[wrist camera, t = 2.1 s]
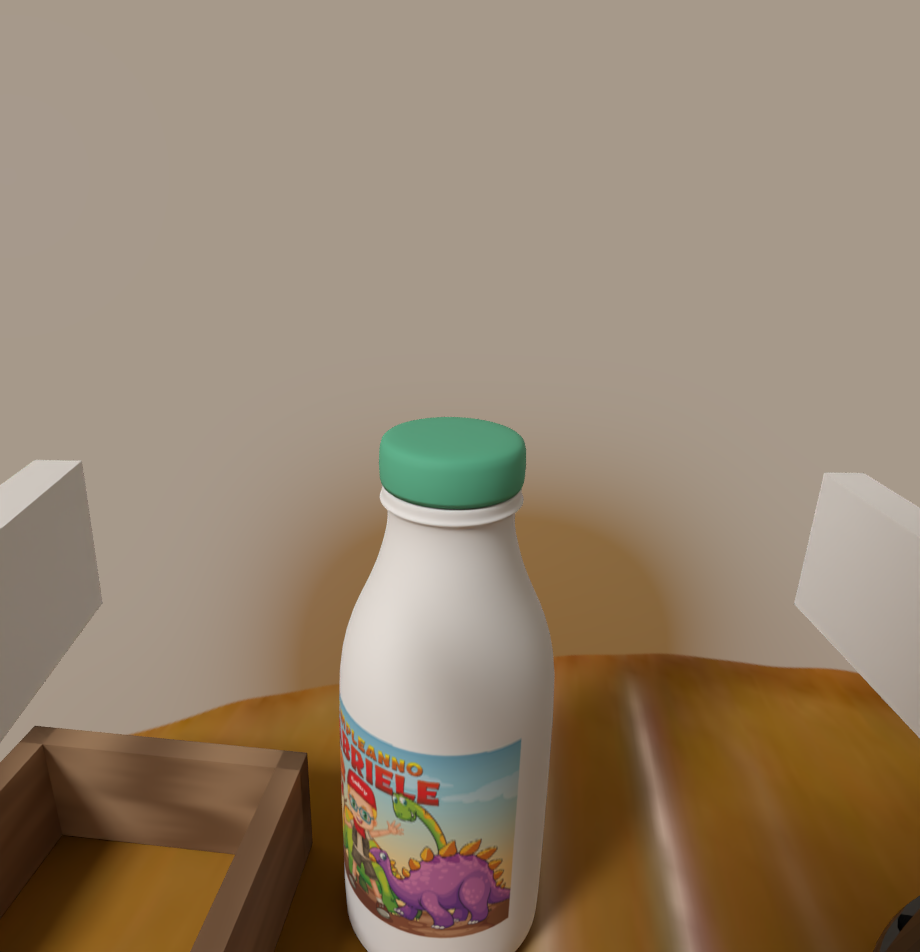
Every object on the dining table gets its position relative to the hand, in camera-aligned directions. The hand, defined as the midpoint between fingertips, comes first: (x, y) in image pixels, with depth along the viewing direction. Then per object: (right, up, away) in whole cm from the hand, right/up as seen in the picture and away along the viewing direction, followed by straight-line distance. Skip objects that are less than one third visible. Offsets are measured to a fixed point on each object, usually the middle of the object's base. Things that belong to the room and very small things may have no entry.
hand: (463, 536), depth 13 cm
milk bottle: (-1, -16, +17) cm, 24 cm away
